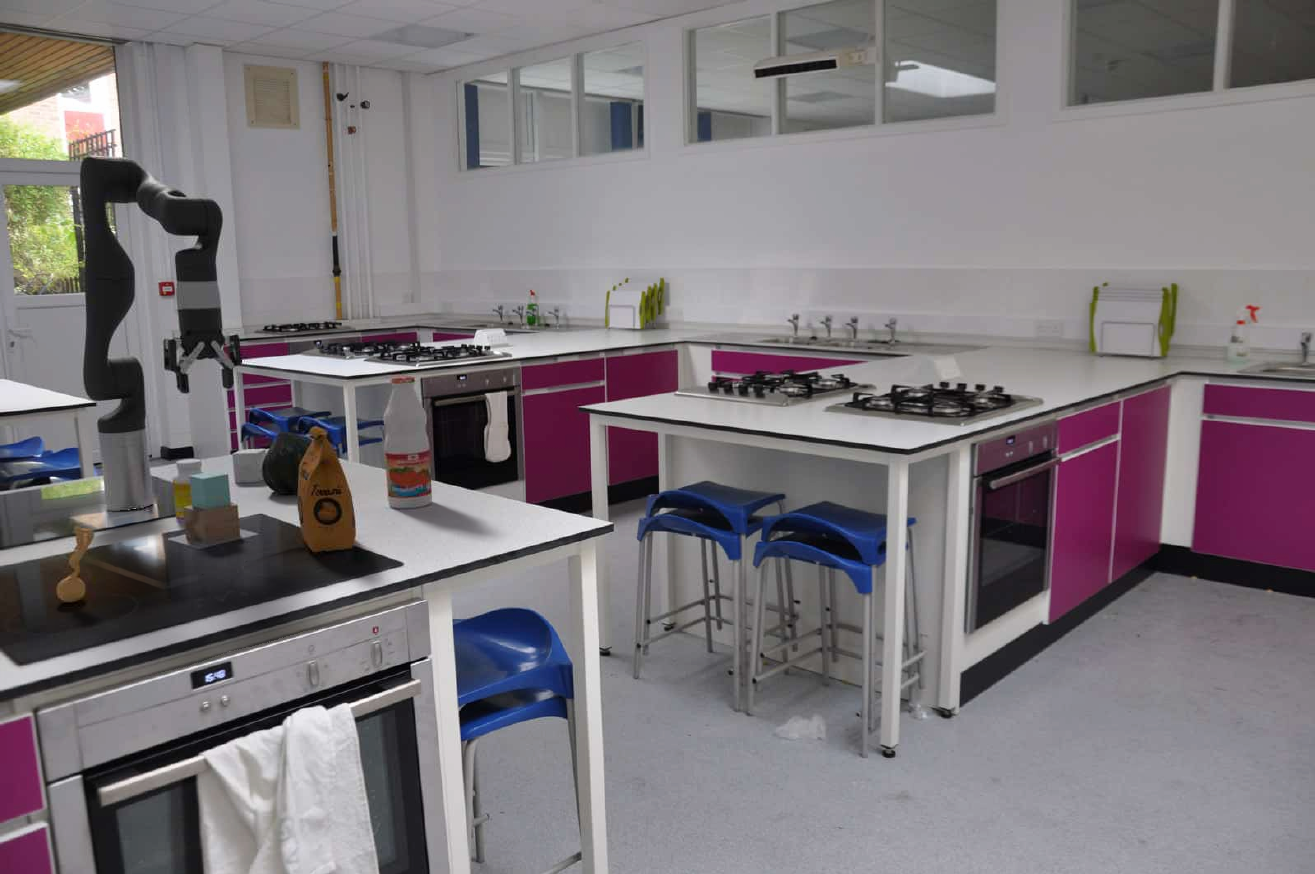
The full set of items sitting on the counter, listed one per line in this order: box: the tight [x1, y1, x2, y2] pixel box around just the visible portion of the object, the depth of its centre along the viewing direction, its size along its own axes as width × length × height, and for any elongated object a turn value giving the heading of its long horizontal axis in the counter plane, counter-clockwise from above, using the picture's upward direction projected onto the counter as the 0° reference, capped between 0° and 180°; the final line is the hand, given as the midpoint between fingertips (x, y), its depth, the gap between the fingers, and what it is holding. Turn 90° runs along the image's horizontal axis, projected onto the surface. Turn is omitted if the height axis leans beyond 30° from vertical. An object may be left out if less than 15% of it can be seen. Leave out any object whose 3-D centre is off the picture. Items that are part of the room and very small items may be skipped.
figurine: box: [56, 526, 95, 603], centre depth 160 cm, size 8×6×12 cm
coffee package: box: [297, 425, 357, 553], centre depth 188 cm, size 10×12×22 cm
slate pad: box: [167, 528, 260, 550], centre depth 194 cm, size 12×12×1 cm
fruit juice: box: [383, 375, 433, 509], centre depth 219 cm, size 9×9×28 cm
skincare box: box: [231, 448, 267, 484], centre depth 249 cm, size 6×6×7 cm
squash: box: [262, 431, 313, 496], centre depth 235 cm, size 14×15×15 cm
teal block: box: [189, 470, 232, 510], centre depth 192 cm, size 5×5×6 cm
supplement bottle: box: [172, 458, 206, 522], centre depth 208 cm, size 7×7×13 cm
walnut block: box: [183, 502, 241, 543], centre depth 193 cm, size 7×7×6 cm
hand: (206, 390), depth 194 cm, fingers open, 8 cm apart
